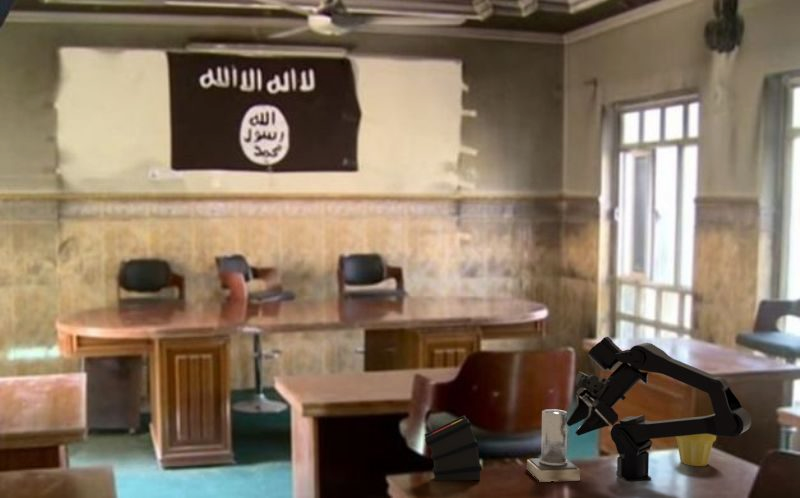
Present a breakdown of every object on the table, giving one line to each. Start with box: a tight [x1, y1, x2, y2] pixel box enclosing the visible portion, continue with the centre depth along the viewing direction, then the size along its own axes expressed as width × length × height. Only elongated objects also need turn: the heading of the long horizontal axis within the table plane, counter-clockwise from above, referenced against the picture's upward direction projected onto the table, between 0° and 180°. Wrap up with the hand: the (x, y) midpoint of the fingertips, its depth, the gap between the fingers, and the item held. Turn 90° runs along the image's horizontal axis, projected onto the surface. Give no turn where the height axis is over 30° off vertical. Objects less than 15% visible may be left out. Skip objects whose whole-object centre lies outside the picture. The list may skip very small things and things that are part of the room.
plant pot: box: [675, 434, 717, 467], centre depth 232 cm, size 10×10×10 cm
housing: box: [539, 408, 569, 467], centre depth 220 cm, size 7×7×12 cm
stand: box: [526, 457, 581, 483], centre depth 220 cm, size 10×10×3 cm
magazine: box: [424, 415, 483, 482], centre depth 216 cm, size 4×13×15 cm, turn 94°
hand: (572, 429), depth 220 cm, fingers open, 9 cm apart
